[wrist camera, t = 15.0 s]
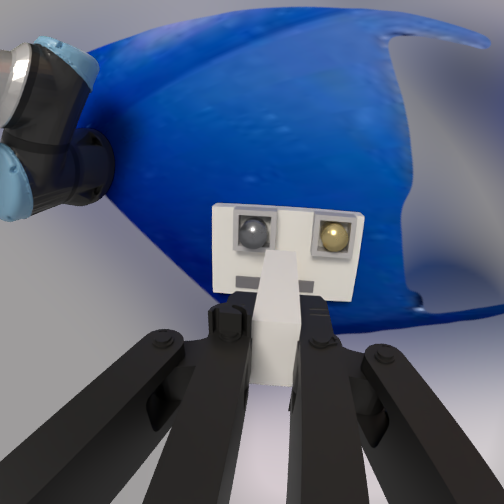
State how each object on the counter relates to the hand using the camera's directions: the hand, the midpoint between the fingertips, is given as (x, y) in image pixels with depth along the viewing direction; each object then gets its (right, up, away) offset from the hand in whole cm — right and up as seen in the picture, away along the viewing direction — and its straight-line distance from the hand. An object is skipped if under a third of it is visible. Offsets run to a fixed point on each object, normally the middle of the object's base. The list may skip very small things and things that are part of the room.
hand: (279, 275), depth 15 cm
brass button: (+11, +4, +30) cm, 33 cm away
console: (+4, +2, +36) cm, 36 cm away
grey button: (-1, +4, +30) cm, 30 cm away
